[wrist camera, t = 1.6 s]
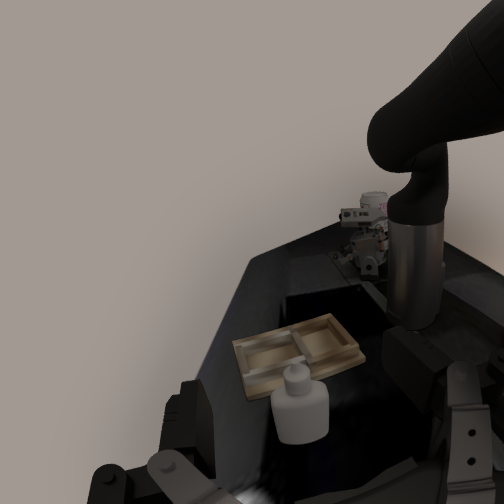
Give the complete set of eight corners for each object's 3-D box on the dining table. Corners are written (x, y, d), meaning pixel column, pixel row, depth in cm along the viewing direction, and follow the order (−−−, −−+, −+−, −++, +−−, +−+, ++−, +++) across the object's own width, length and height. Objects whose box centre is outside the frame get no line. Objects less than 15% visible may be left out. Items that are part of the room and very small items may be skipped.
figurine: (343, 263, 67) (338, 204, 62) (388, 264, 61) (386, 202, 56) (334, 280, 60) (329, 213, 55) (385, 282, 54) (384, 212, 49)
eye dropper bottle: (288, 414, 29) (275, 341, 26) (332, 423, 27) (333, 349, 23) (272, 441, 26) (254, 372, 22) (320, 452, 23) (318, 384, 19)
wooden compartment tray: (328, 318, 47) (327, 304, 46) (365, 362, 35) (366, 346, 34) (233, 345, 45) (229, 331, 44) (248, 401, 33) (243, 386, 32)
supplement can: (368, 241, 78) (364, 191, 73) (394, 243, 73) (392, 191, 68) (359, 250, 73) (355, 196, 68) (387, 253, 67) (385, 197, 62)
